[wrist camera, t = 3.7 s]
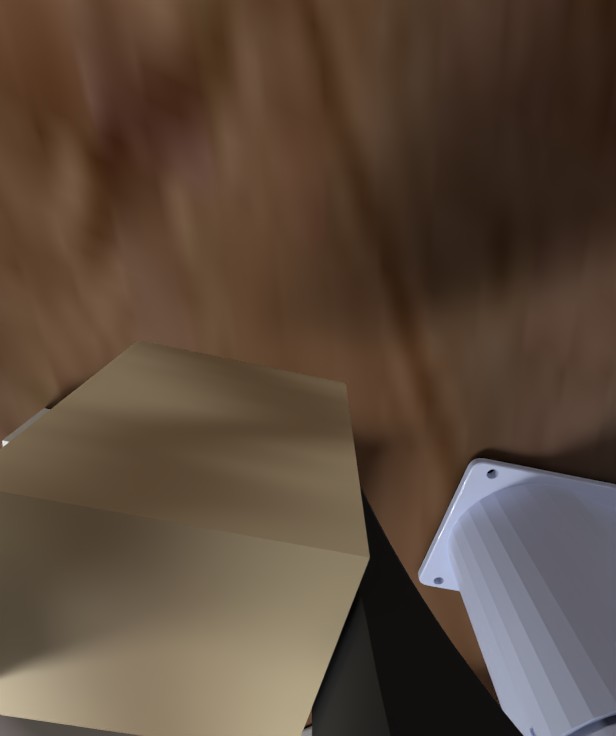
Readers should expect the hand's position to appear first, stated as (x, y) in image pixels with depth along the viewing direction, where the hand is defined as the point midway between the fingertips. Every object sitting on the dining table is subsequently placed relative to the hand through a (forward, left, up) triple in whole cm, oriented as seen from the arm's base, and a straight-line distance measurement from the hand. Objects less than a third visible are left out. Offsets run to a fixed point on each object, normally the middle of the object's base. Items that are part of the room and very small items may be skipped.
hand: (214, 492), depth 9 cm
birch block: (0, 0, -2) cm, 2 cm away
